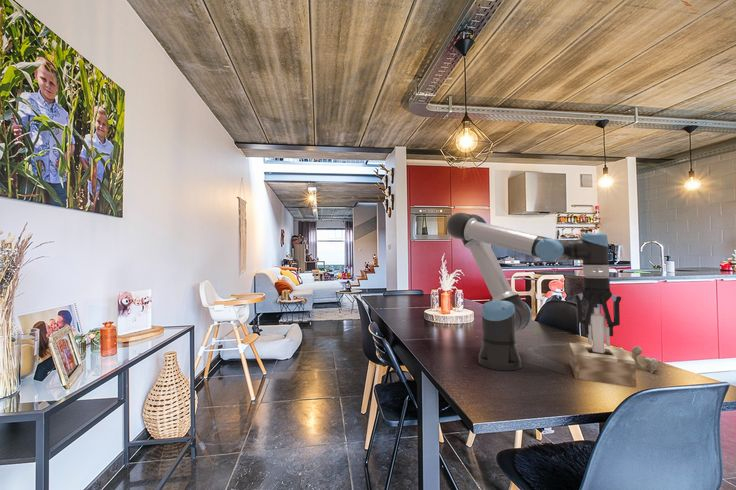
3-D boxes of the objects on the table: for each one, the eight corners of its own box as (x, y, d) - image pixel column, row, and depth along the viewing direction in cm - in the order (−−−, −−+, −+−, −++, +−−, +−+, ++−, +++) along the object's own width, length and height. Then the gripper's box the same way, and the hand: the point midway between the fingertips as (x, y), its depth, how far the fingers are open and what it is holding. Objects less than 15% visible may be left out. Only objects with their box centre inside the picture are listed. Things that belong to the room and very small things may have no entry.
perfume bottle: (586, 349, 113) (585, 306, 113) (597, 349, 113) (596, 306, 114) (597, 353, 108) (596, 309, 109) (609, 352, 109) (607, 308, 109)
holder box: (575, 378, 107) (574, 354, 107) (570, 364, 121) (569, 342, 121) (636, 386, 99) (635, 360, 100) (623, 370, 114) (622, 347, 114)
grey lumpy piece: (672, 369, 110) (657, 344, 110) (661, 380, 109) (645, 355, 109) (646, 362, 119) (632, 340, 118) (635, 373, 117) (621, 350, 117)
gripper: (567, 277, 112) (570, 344, 111) (630, 278, 104) (633, 350, 103) (565, 276, 119) (568, 339, 118) (624, 276, 111) (627, 344, 110)
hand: (598, 344), depth 111 cm, fingers closed on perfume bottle, 4 cm apart
